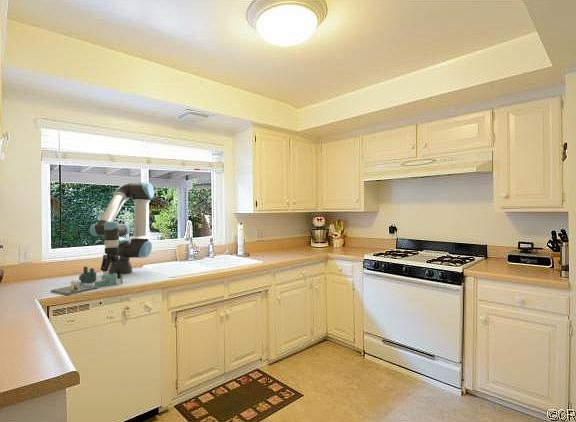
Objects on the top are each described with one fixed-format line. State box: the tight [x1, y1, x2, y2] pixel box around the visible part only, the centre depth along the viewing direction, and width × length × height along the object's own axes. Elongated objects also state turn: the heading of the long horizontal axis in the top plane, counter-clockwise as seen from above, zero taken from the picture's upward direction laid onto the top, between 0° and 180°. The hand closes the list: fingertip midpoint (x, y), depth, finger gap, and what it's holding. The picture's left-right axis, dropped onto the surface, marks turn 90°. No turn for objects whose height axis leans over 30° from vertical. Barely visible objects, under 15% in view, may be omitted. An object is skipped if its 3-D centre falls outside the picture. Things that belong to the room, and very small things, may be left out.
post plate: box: [50, 280, 99, 296], centre depth 179 cm, size 16×16×5 cm
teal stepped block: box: [93, 273, 124, 288], centre depth 192 cm, size 14×8×5 cm, turn 152°
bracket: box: [78, 266, 97, 284], centre depth 200 cm, size 9×9×9 cm
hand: (112, 282), depth 195 cm, fingers open, 11 cm apart
